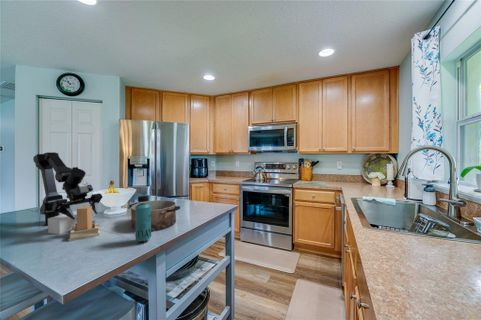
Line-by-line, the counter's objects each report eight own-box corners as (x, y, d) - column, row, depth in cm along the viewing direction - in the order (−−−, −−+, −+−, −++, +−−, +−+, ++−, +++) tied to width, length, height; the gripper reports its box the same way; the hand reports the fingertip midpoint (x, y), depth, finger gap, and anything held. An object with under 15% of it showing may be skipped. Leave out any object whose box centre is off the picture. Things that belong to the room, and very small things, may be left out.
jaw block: (82, 231, 97) (81, 206, 96) (92, 230, 97) (91, 206, 97) (77, 234, 92) (76, 208, 92) (87, 233, 93) (87, 208, 93)
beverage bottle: (135, 246, 83) (134, 198, 83) (135, 239, 89) (134, 195, 89) (152, 242, 86) (151, 196, 86) (151, 237, 92) (150, 194, 92)
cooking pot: (115, 228, 104) (115, 207, 103) (147, 215, 125) (147, 198, 124) (163, 235, 94) (163, 213, 94) (189, 220, 115) (189, 202, 115)
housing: (71, 231, 99) (71, 223, 99) (98, 226, 105) (98, 219, 105) (68, 241, 87) (68, 232, 87) (99, 235, 94) (99, 227, 94)
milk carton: (59, 219, 95) (95, 208, 114) (47, 218, 96) (85, 208, 115) (59, 234, 95) (95, 221, 114) (47, 233, 97) (85, 220, 115)
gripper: (54, 182, 88) (67, 210, 83) (100, 177, 104) (113, 201, 100) (46, 198, 91) (58, 226, 87) (92, 191, 108) (104, 214, 103)
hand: (86, 216), depth 94 cm, fingers open, 9 cm apart
